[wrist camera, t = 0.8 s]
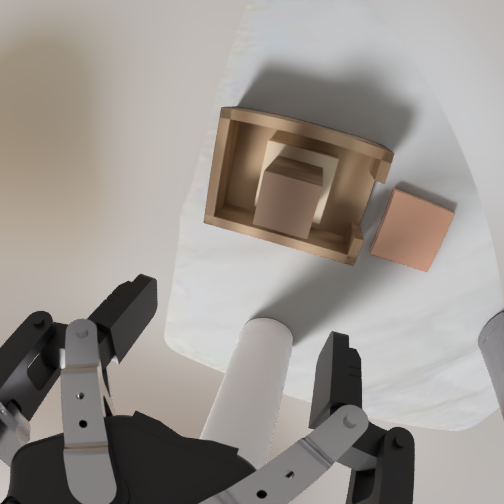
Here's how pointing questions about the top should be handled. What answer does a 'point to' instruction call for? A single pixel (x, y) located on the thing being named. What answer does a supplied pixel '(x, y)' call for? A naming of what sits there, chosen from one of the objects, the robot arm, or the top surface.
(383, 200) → the top surface
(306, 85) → the top surface
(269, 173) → the walnut block
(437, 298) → the top surface
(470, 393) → the top surface
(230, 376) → the bottle
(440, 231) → the terracotta tile
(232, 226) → the oak box
